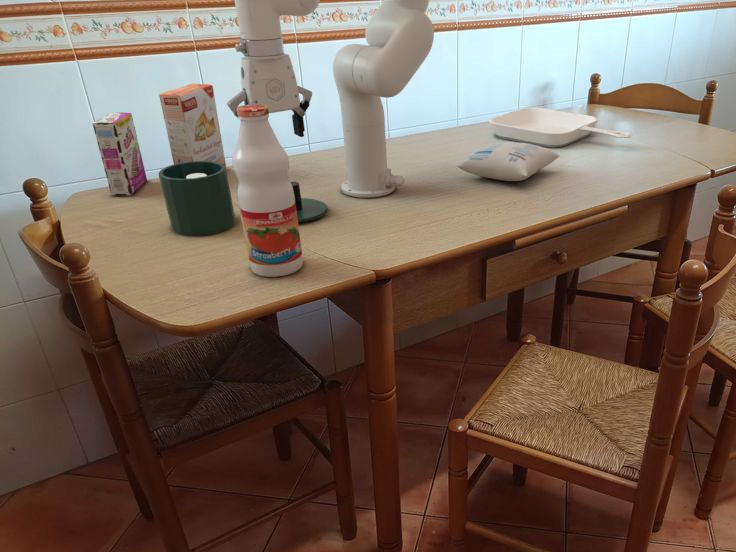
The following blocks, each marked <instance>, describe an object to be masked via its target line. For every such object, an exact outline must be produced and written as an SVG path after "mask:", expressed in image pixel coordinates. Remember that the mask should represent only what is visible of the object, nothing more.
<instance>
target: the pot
mask: <svg viewBox="0 0 736 552" xmlns="http://www.w3.org/2000/svg"><path fill="white" fill-rule="evenodd" d="M226 168H227V166H226V167H225V166H224V165H223V164H221V163H217V162H211V161H191V162H184V163H178V164H174V163H173V164H170V165H168V166H167V165H166V166H165V167H163V168H162V169H160V170H159V171H158V178H159V183H160V186H161V190H162V194H163V198H164V201H165V202H164V203H165V206H166V211H167V214H168V219H169V222H170V227H171V229H172V231H173V232H174V233H176V234H178V235H182V236H185V237H186V236H188V237H202V236H210V235H215V234H220V233H222V232H225V231H227V230H229V229H231V228H232V227H234V226H235V223H236V214H235V210H234V204H233V200H232V193H231V188H230V184H229V179H228V178H229V177H228V172H227V169H226ZM194 173H203V174H206V175H207V176H205V177H198V178H188V179H186V176H187V175H190V174H194Z"/></svg>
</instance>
